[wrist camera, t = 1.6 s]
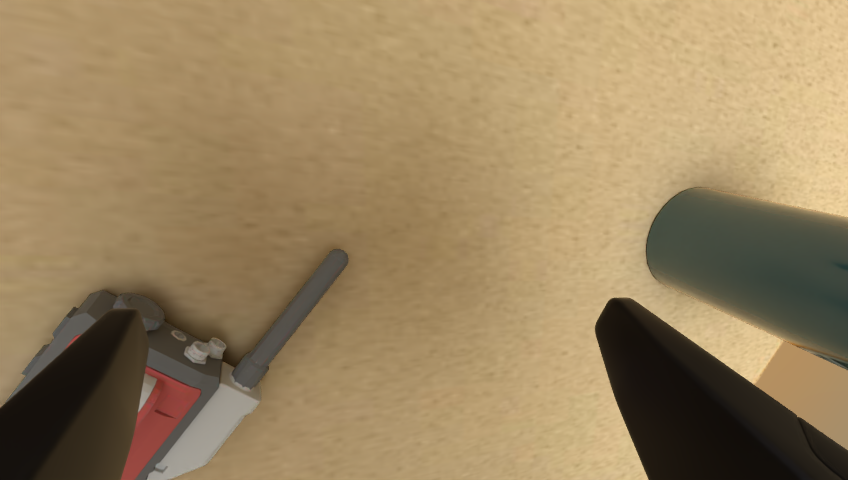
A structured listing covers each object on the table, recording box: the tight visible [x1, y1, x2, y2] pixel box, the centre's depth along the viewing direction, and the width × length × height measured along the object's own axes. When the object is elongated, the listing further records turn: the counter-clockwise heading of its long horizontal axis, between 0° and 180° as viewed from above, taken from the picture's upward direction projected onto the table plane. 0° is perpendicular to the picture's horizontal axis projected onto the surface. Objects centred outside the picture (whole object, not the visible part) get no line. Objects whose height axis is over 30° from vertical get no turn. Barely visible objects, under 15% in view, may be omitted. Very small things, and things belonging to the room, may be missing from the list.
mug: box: [647, 187, 848, 370], centre depth 27 cm, size 10×7×13 cm
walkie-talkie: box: [5, 249, 349, 480], centre depth 21 cm, size 9×4×20 cm
